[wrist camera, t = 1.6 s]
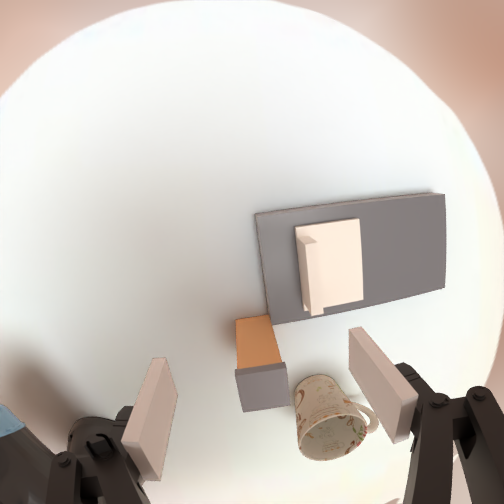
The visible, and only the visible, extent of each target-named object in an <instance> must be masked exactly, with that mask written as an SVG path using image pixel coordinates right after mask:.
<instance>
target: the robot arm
mask: <svg viewBox="0 0 504 504" xmlns="http://www.w3.org/2000/svg"><path fill="white" fill-rule="evenodd" d="M349 370H350V372H351V374H352V375H353V377H354V379H355V380H356V382H357V384H358V385H359V387H360V389H361V390H362V392H363V394H364V395H365V397H366V399H367V400H368V402H369V404H370V405H371V407H372V409H373V410H374V412H375V414H376V415H377V417H378V419H379V421H380V422H381V424H382V426H383V427H384V429H385V431H386V432H387V434H388V436H389V438H390V439H391V441H392V443H393V444H395V443H398V442H401V441H404V440H406V439H408V438H409V434H410V430H411V432H412V433H413V435H414V440H413V444H412V447H411V450H410V452H412V454H411V461H410V468H409V474H408V480H407V485H406V490H405V496H404V500H403V504H450V500H451V488H452V470H453V440H454V441H455V445H456V447H457V451H458V454H459V457H460V461H461V464H462V467H463V471H464V474H465V478H466V482H467V485H468V489H469V493H470V497H471V501H472V504H504V414H503V412H502V411H501V409H500V407H499V405H498V403H497V402H496V400H495V398H494V396H493V394H492V392H491V391H490V390H489V389H488V388H486V387H483V386H475V387H472V388H470V389H469V390H468V391H467V394H466V397H461V398H455V399H450V398H449V397H448V396H447V395H445V394H443V393H435V392H434V391H433V390H432V389H431V388H430V386H429V385H428V384H427V383H426V382H425V381H424V380H423V379H422V378H421V376H420V375H419V374H418V373H417V372H416V371H415V370H414V369H413V368H412V366H410V365H408V364H406V363H404V362H403V363H400V364H396V365H394V364H393V363H392V362H391V361H390V360H389V358H388V357H387V356H386V355H385V354H384V353H383V351H382V350H381V349H380V348H379V347H378V345H377V344H376V343H375V342H374V341H373V340H372V338H371V337H370V336H369V335H368V334H367V333H366V331H365V330H364V329H363V328H362V327H357V328H352V329H349ZM177 397H178V394H177V391H176V388H175V385H174V382H173V379H172V376H171V373H170V370H169V367H168V363H167V360H166V357H164V358H153V359H152V362H151V364H150V367H149V369H148V372H147V374H146V377H145V379H144V382H143V384H142V387H141V389H140V392H139V394H138V397H137V400H136V402H135V405H134V406H124V407H123V408H122V409H121V410H120V411H119V412H118V414H117V417H116V419H115V420H116V421H115V422H114V421H111V420H107V419H103V418H98V417H87V418H82V419H80V420H78V421H77V422H75V424H74V425H73V427H72V429H71V431H70V433H69V436H68V446H67V451H64V452H60V453H58V454H57V455H55V454H54V453H53V452H52V451H51V450H49V449H48V448H47V447H46V446H45V445H44V444H43V443H42V442H41V441H40V440H39V439H38V438H37V437H36V436H35V435H34V434H33V433H32V432H31V431H30V430H29V429H28V428H27V427H26V425H25V423H23V422H21V421H20V420H19V419H18V418H17V417H16V416H15V415H14V414H13V413H12V412H11V411H10V410H9V409H8V408H7V407H6V406H4V405H2V404H0V504H151V503H150V501H149V499H148V497H147V496H146V494H145V492H144V490H143V488H142V485H143V483H144V482H145V480H147V481H161V476H162V470H163V465H164V460H165V455H166V450H167V445H168V440H169V435H170V430H171V425H172V421H173V416H174V411H175V406H176V402H177Z"/></svg>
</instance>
